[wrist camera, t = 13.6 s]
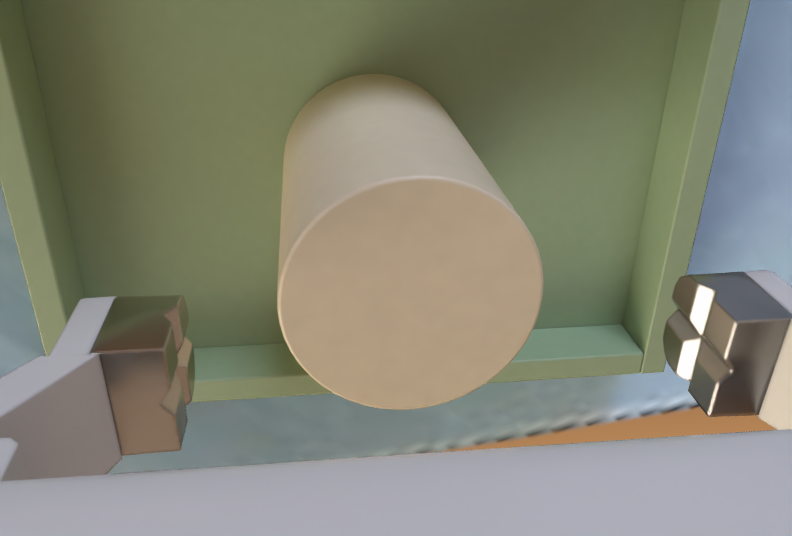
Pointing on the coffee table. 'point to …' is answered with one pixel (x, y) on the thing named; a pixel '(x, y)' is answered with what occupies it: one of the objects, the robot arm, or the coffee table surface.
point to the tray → (272, 119)
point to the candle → (398, 250)
